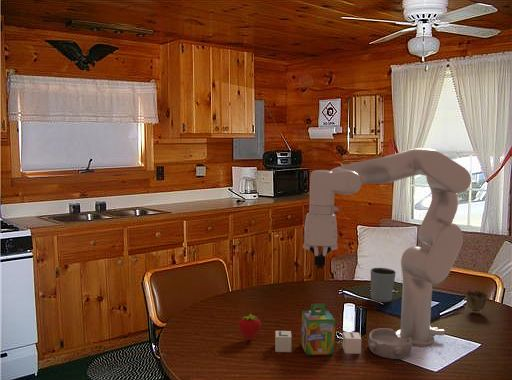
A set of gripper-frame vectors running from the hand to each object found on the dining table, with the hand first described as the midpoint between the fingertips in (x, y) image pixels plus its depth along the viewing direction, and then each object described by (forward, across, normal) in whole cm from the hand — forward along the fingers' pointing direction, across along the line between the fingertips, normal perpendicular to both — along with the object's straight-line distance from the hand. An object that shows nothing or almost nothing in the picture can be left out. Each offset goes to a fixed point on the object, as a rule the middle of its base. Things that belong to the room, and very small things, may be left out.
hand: (319, 267), depth 164 cm
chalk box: (+27, 0, 0) cm, 27 cm away
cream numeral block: (+27, -11, 0) cm, 29 cm away
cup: (+27, -65, -36) cm, 79 cm away
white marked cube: (+27, +11, 0) cm, 29 cm away
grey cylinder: (+27, -32, -51) cm, 66 cm away
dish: (+28, -23, 0) cm, 36 cm away
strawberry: (+27, +22, -6) cm, 36 cm away
